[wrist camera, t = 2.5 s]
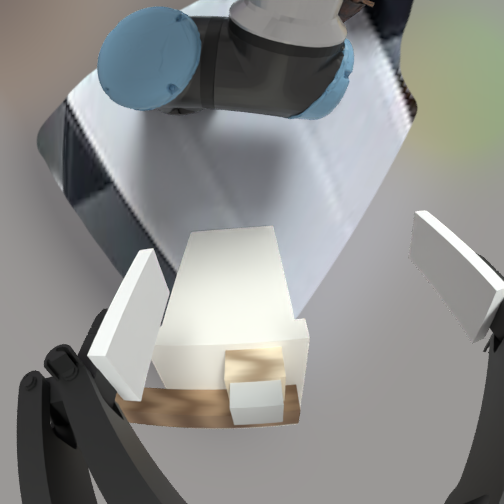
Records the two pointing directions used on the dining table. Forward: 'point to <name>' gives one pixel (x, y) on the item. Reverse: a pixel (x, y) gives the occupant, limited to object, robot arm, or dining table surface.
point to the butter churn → (352, 8)
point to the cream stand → (228, 310)
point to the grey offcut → (256, 402)
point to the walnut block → (196, 408)
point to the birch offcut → (254, 366)
